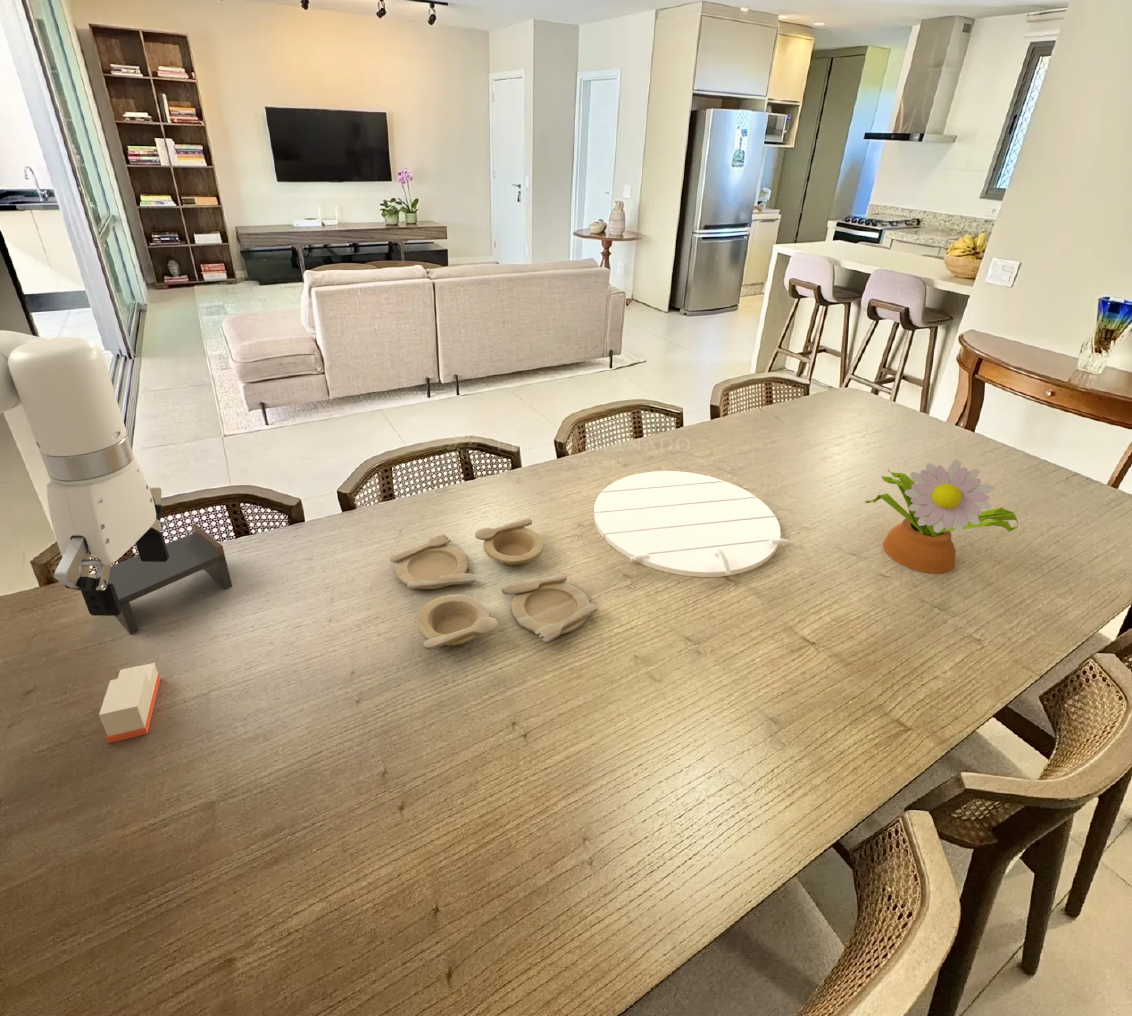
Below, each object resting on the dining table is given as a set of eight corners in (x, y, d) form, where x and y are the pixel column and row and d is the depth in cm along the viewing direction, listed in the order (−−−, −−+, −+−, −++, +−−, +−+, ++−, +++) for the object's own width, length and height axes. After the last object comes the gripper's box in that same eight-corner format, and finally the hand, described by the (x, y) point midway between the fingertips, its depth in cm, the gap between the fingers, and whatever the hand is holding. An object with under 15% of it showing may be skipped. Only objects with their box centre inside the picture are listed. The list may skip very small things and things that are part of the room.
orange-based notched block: (147, 734, 84) (137, 707, 82) (108, 743, 82) (97, 716, 80) (160, 678, 92) (152, 652, 90) (125, 686, 91) (115, 660, 88)
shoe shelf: (130, 635, 100) (115, 591, 96) (106, 606, 105) (91, 564, 101) (232, 586, 111) (222, 545, 107) (206, 562, 116) (195, 523, 113)
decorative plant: (849, 565, 123) (883, 450, 112) (855, 507, 143) (884, 405, 132) (1009, 608, 114) (1063, 487, 103) (992, 539, 134) (1036, 432, 122)
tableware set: (608, 631, 104) (610, 612, 103) (433, 687, 93) (431, 666, 91) (527, 522, 132) (527, 505, 131) (385, 554, 121) (383, 536, 119)
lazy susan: (820, 567, 122) (824, 552, 121) (628, 591, 114) (629, 576, 112) (727, 469, 157) (729, 457, 156) (574, 482, 148) (575, 469, 147)
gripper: (104, 421, 74) (142, 542, 82) (-13, 498, 59) (47, 638, 67) (169, 423, 75) (201, 543, 82) (70, 499, 59) (121, 638, 67)
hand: (132, 585), depth 74 cm, fingers open, 9 cm apart
